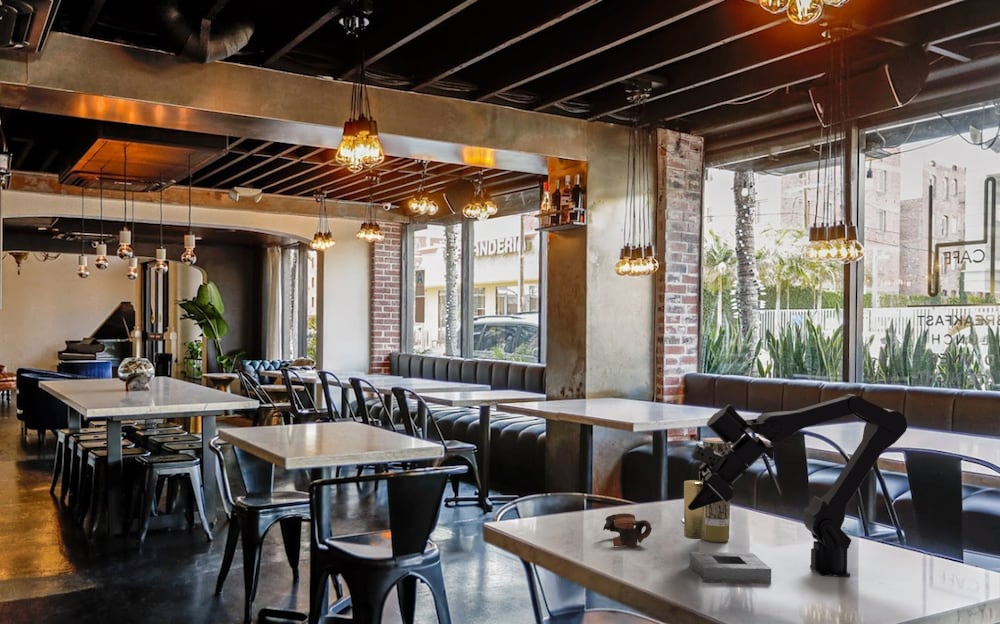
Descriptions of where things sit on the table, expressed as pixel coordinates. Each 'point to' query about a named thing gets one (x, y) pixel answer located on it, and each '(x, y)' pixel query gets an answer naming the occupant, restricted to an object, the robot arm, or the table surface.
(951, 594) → the table surface
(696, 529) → the brass cylinder
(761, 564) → the jig plate
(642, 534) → the pottery mug
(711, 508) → the bark covered log
